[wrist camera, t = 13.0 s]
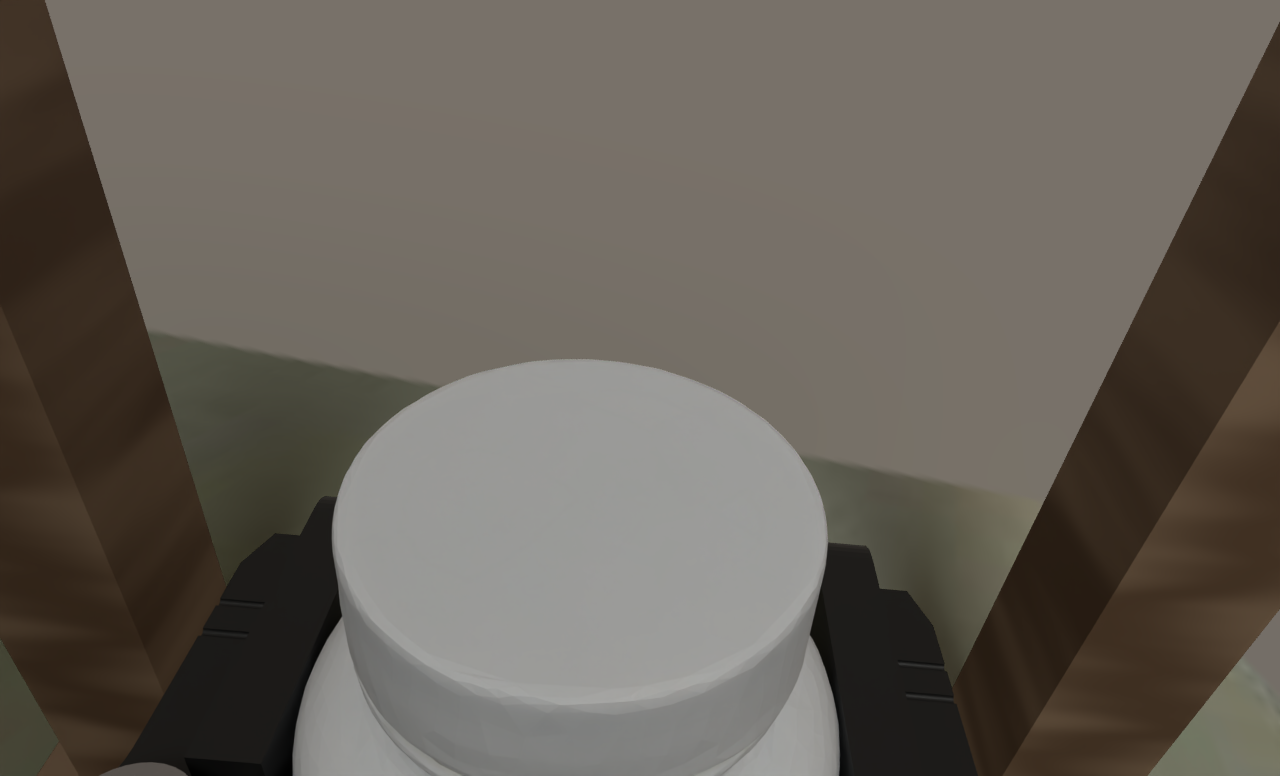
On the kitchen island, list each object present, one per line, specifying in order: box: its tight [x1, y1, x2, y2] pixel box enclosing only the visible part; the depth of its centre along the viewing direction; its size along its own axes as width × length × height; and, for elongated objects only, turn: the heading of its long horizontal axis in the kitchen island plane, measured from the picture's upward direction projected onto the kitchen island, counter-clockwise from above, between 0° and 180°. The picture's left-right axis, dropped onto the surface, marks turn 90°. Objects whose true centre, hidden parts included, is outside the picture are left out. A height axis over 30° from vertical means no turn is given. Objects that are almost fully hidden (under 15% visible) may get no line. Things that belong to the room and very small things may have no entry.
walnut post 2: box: [952, 22, 1280, 776], centre depth 19 cm, size 7×7×25 cm
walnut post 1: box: [0, 0, 226, 776], centre depth 19 cm, size 7×7×25 cm
